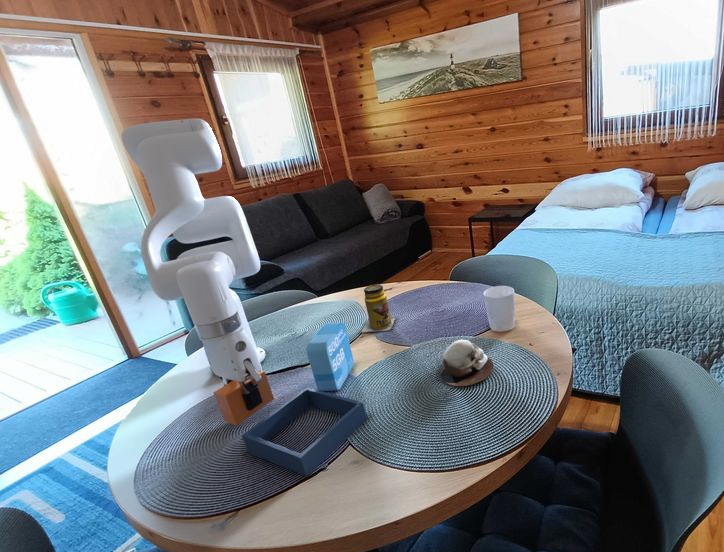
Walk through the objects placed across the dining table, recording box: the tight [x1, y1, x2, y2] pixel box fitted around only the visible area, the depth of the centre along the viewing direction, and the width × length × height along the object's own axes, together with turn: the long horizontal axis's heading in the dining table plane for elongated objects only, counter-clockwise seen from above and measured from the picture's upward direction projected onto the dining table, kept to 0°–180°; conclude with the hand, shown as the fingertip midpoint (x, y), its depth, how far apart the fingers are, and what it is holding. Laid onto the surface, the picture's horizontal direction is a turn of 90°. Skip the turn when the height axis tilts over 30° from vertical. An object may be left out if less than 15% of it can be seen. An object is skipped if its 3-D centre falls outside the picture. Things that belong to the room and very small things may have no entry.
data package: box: [306, 322, 355, 392], centre depth 98 cm, size 12×4×12 cm, turn 176°
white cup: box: [483, 285, 516, 333], centre depth 113 cm, size 8×8×10 cm
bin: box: [241, 387, 368, 477], centre depth 82 cm, size 16×16×4 cm
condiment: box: [360, 283, 396, 333], centre depth 122 cm, size 7×8×12 cm
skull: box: [439, 339, 494, 387], centre depth 96 cm, size 12×10×10 cm
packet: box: [213, 370, 275, 426], centre depth 89 cm, size 4×9×7 cm, turn 152°
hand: (247, 403), depth 89 cm, fingers closed on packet, 4 cm apart
